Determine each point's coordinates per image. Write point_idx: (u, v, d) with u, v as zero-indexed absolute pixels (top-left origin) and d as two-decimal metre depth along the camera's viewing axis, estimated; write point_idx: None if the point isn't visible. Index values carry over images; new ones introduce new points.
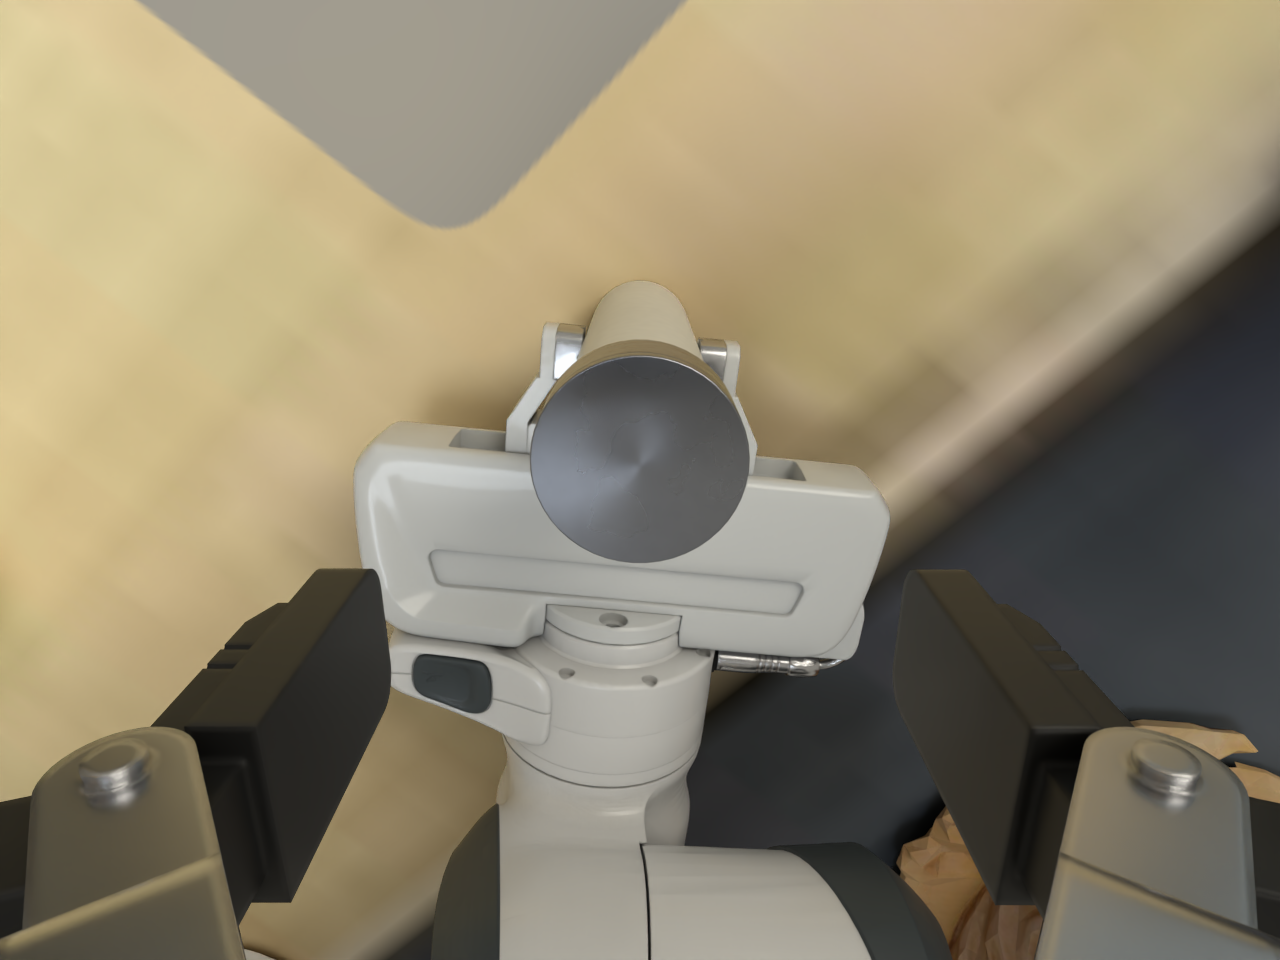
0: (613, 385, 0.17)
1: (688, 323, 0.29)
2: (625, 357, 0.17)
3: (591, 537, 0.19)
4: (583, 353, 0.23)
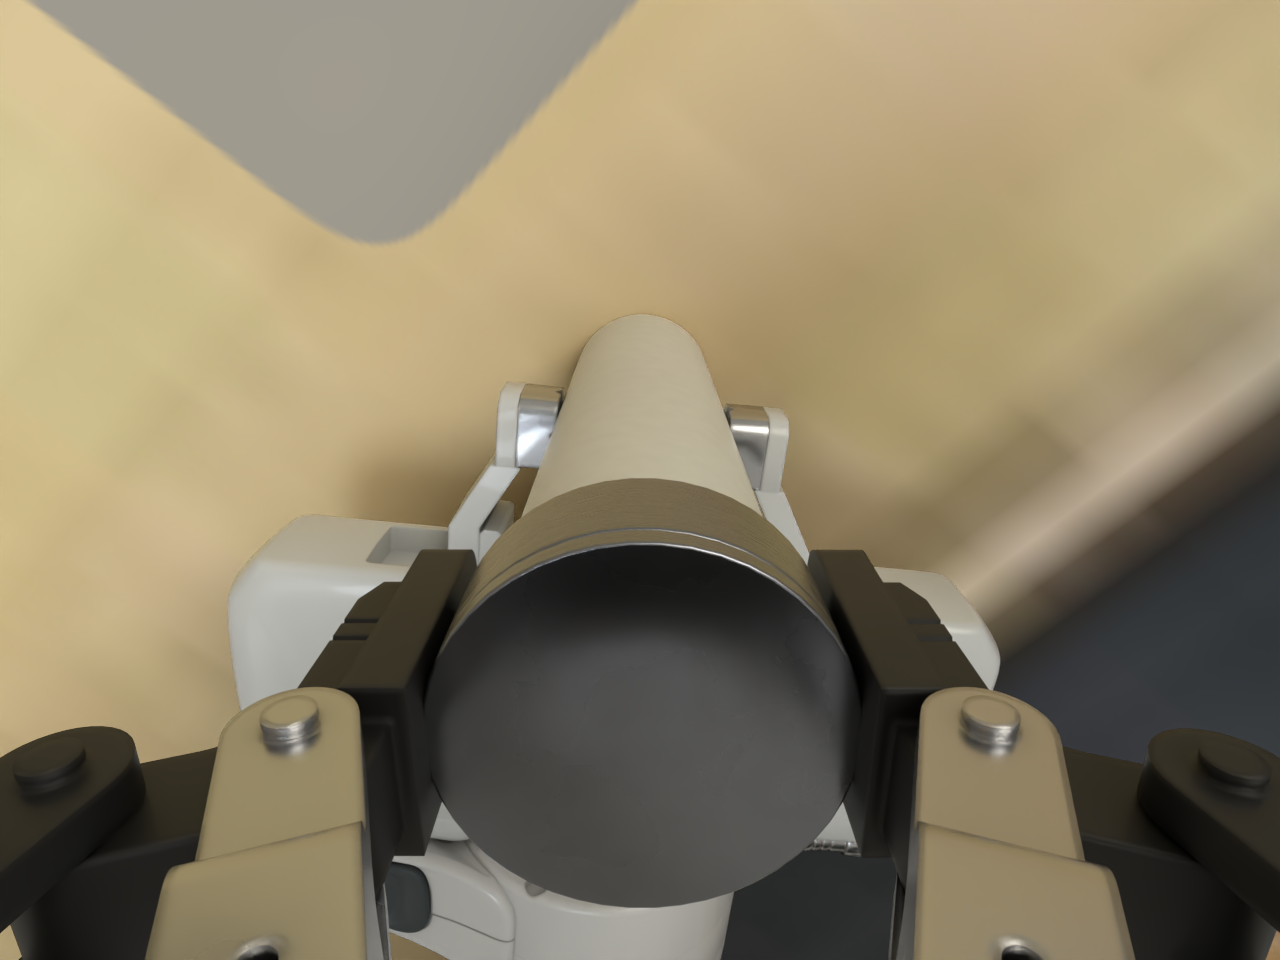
0: (588, 600, 0.08)
1: (711, 383, 0.20)
2: (612, 546, 0.08)
3: (548, 866, 0.10)
4: (549, 461, 0.14)
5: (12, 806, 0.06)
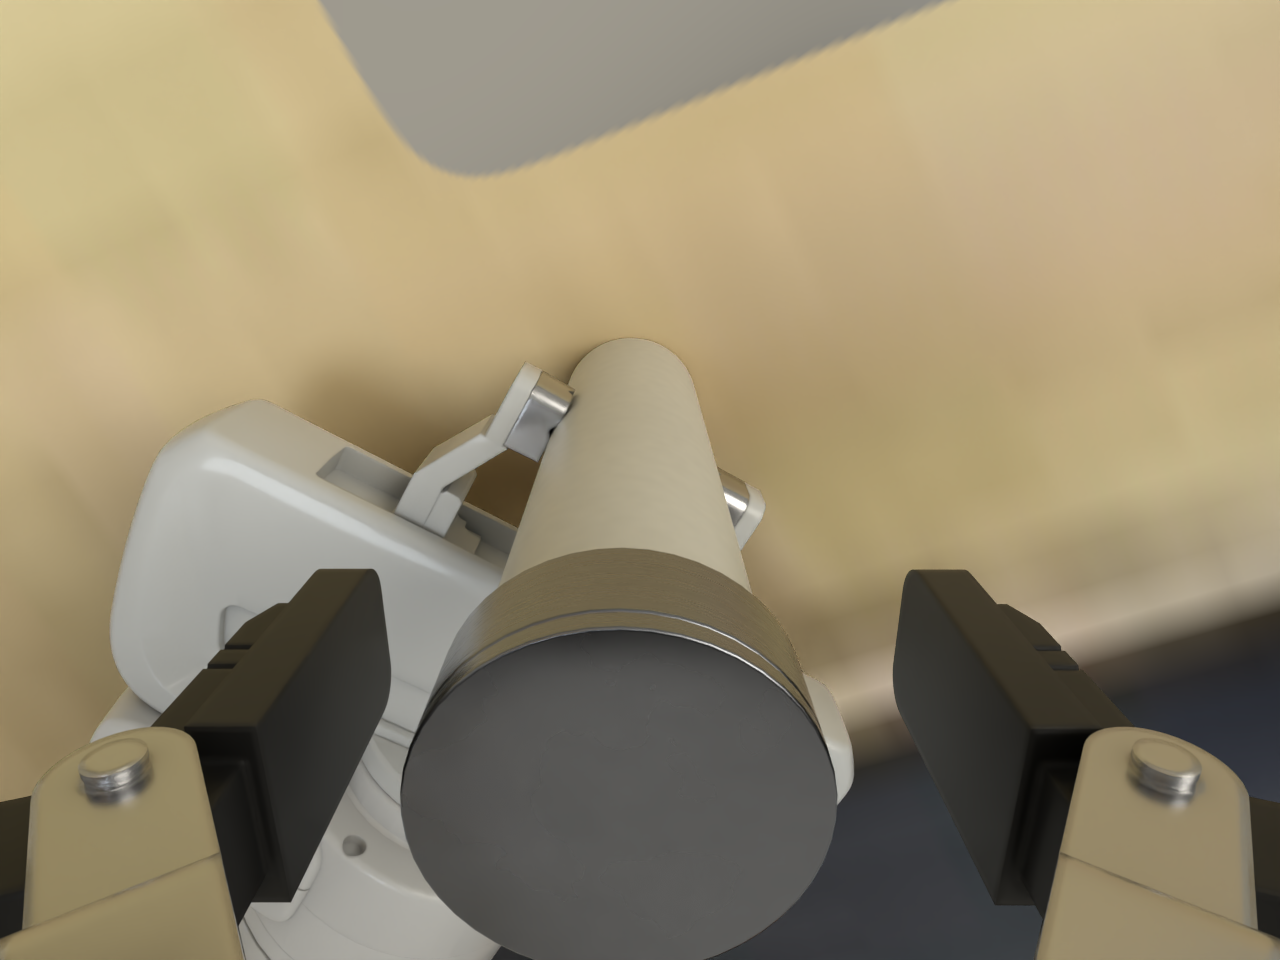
0: (454, 779, 0.09)
1: None
2: (416, 737, 0.09)
3: (690, 943, 0.10)
4: (573, 475, 0.14)
5: None
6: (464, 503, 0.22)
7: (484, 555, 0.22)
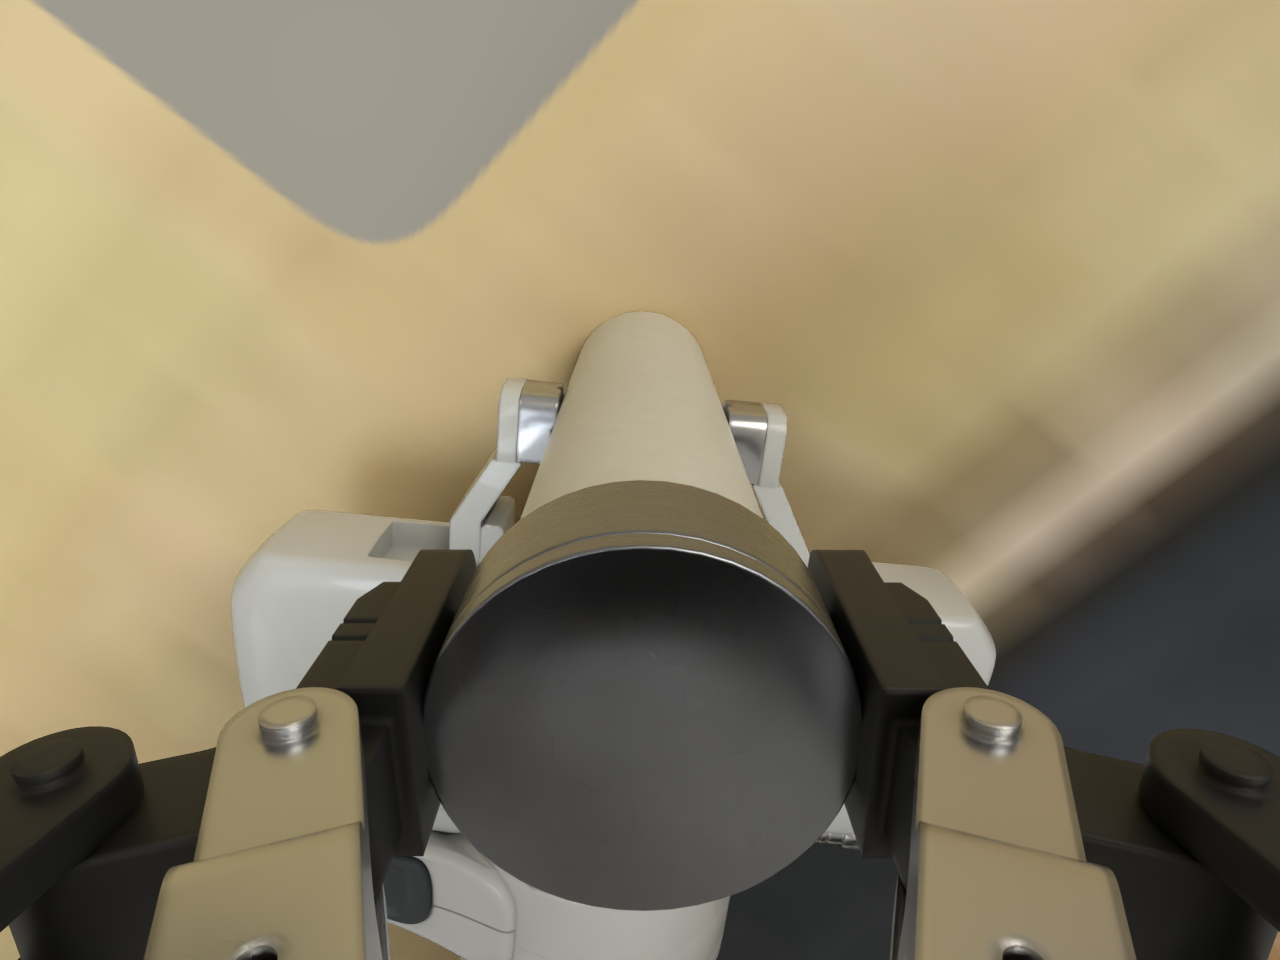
0: (475, 764, 0.09)
1: (710, 380, 0.21)
2: None
3: (775, 845, 0.09)
4: (550, 456, 0.14)
5: (9, 807, 0.06)
6: None
7: None
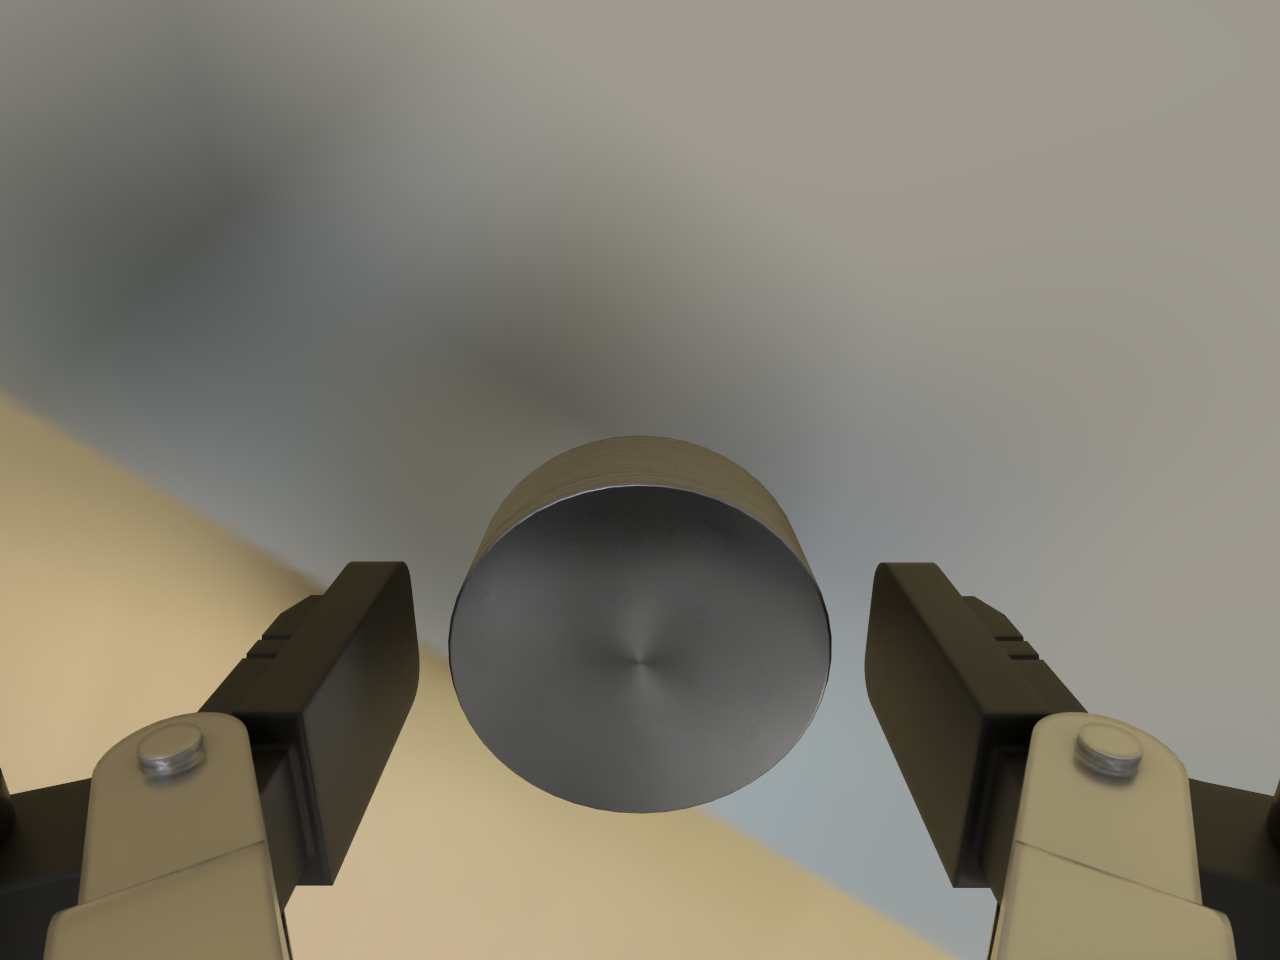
0: (495, 678, 0.10)
1: None
2: (449, 654, 0.10)
3: (755, 752, 0.11)
4: None
5: None
6: None
7: None
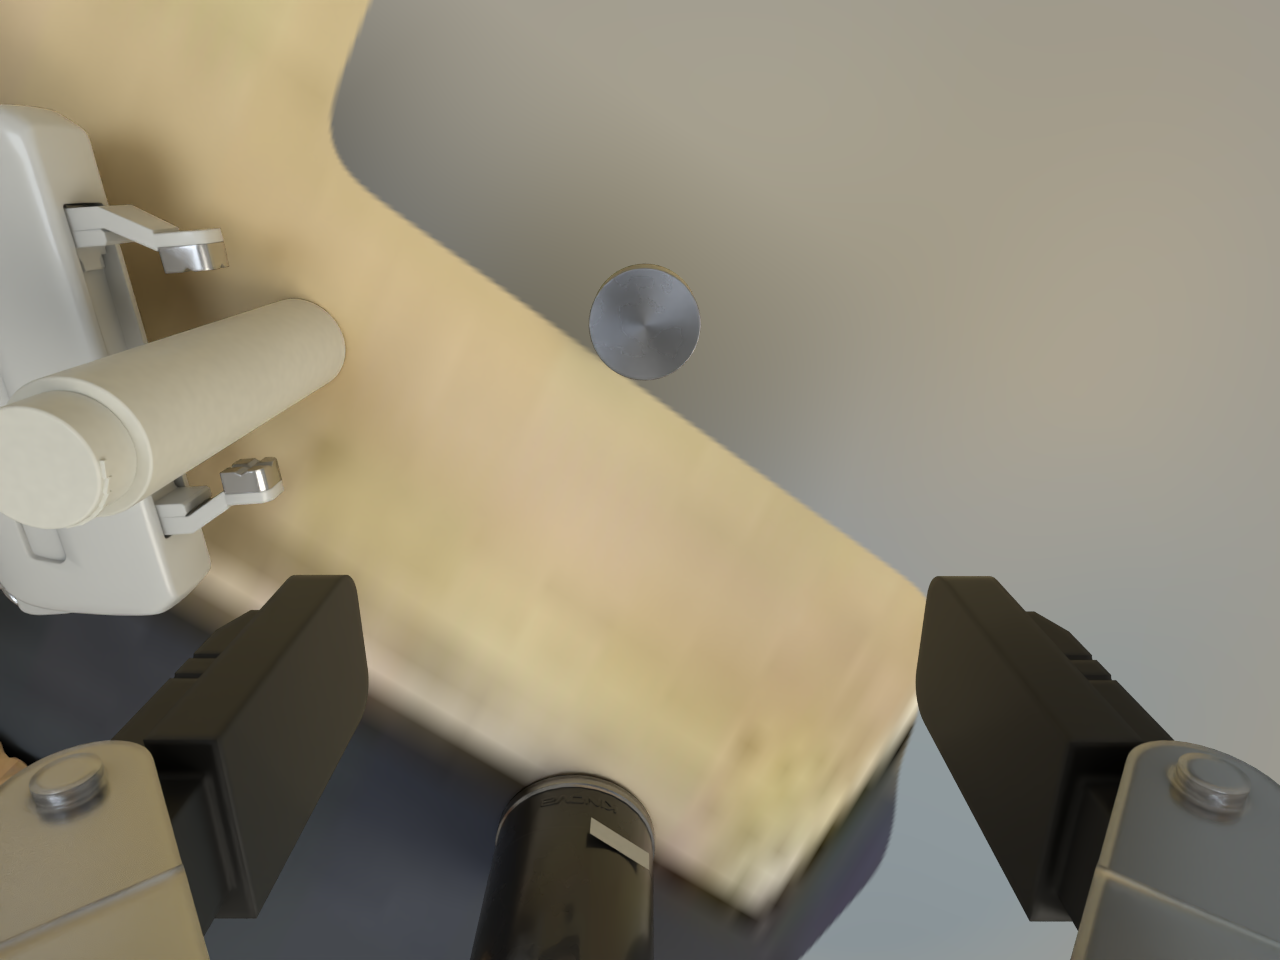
0: (602, 330, 0.35)
1: (288, 406, 0.33)
2: (589, 322, 0.35)
3: (679, 357, 0.36)
4: (170, 359, 0.25)
5: None
6: (131, 293, 0.32)
7: (108, 327, 0.32)
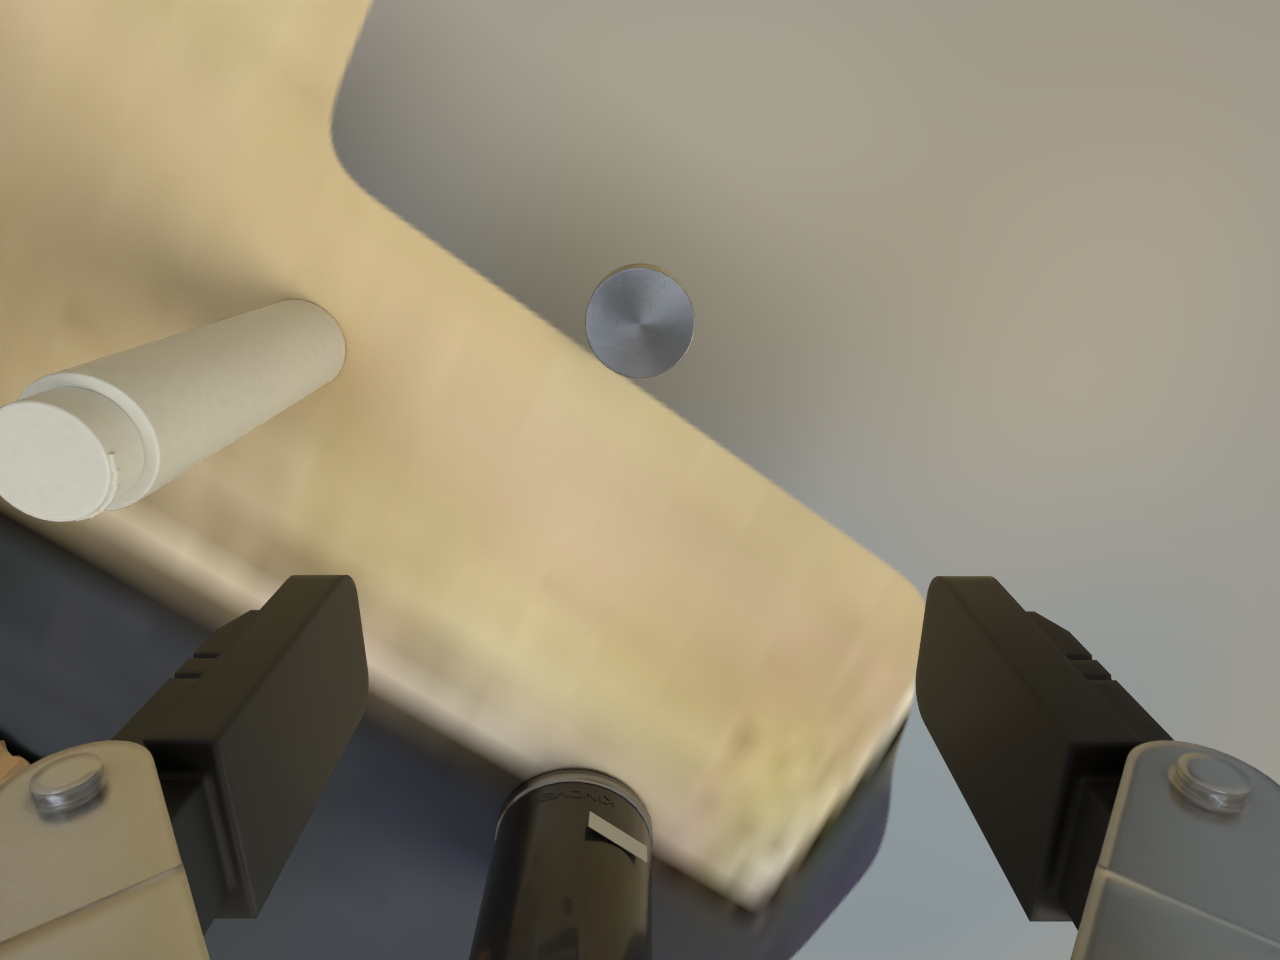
0: (598, 329, 0.36)
1: (290, 404, 0.34)
2: (585, 321, 0.36)
3: (674, 355, 0.36)
4: (175, 357, 0.26)
5: None
6: None
7: None
